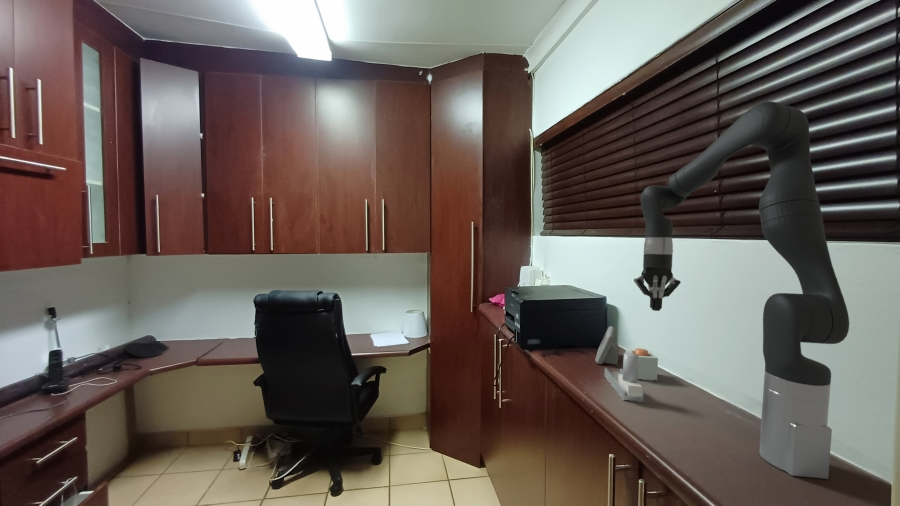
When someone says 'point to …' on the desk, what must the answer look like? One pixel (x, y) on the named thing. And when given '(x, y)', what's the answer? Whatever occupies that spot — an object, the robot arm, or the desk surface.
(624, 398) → the rail
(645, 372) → the button housing
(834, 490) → the desk surface
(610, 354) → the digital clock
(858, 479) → the desk surface
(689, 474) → the desk surface
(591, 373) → the desk surface
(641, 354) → the button
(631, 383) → the carriage
